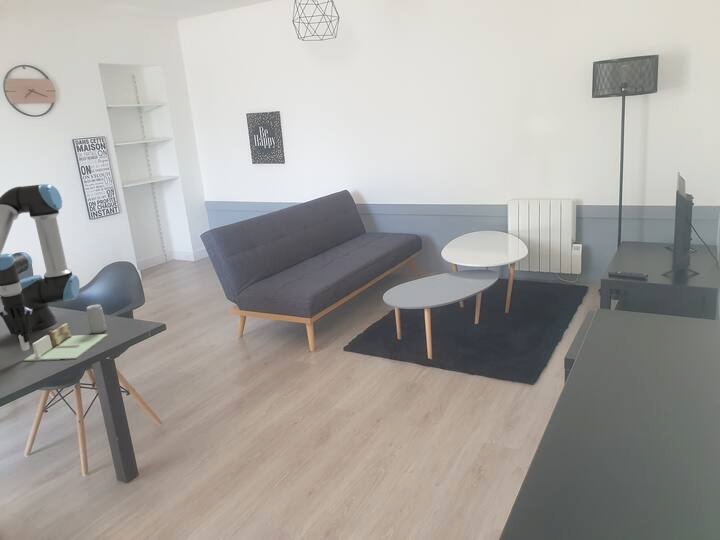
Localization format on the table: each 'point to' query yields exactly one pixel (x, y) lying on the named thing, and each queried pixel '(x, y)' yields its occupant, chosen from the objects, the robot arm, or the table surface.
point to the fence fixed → (59, 334)
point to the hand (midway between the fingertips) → (26, 349)
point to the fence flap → (42, 346)
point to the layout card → (70, 348)
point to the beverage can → (96, 319)
